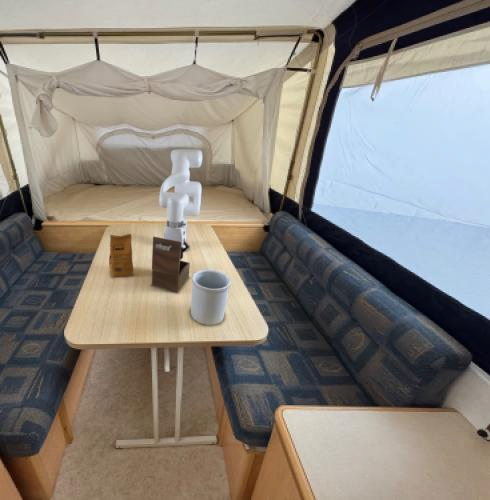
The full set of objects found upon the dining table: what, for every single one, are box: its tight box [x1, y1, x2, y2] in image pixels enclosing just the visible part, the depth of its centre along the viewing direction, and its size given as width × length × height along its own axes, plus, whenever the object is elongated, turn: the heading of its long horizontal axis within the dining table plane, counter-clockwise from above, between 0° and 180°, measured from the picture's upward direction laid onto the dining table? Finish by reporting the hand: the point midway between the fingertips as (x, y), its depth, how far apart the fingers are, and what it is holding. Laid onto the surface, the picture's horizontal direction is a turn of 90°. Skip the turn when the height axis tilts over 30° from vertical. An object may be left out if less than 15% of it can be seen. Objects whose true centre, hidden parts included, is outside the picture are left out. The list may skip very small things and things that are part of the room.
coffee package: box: [108, 233, 134, 278], centre depth 137 cm, size 10×12×22 cm
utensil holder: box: [190, 269, 232, 326], centre depth 107 cm, size 15×15×18 cm
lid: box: [151, 236, 181, 276], centre depth 119 cm, size 16×14×6 cm
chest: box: [151, 260, 191, 294], centre depth 133 cm, size 16×14×9 cm
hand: (173, 257), depth 131 cm, fingers closed on puzzle toy, 6 cm apart
